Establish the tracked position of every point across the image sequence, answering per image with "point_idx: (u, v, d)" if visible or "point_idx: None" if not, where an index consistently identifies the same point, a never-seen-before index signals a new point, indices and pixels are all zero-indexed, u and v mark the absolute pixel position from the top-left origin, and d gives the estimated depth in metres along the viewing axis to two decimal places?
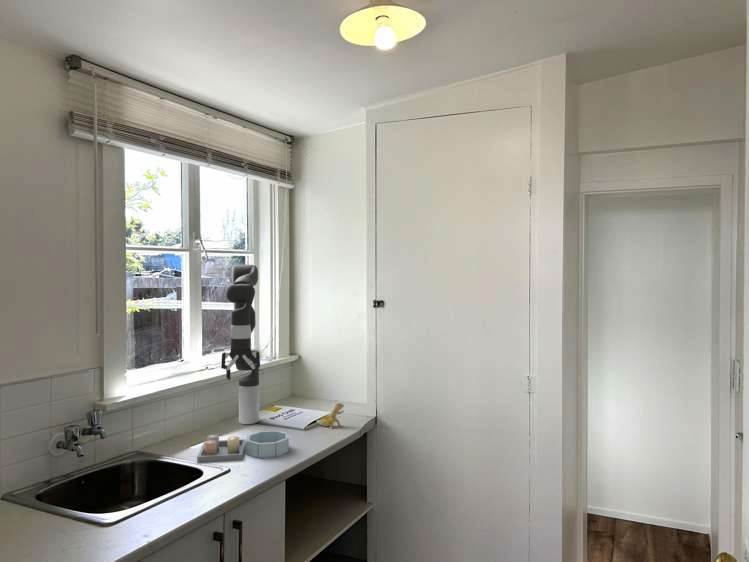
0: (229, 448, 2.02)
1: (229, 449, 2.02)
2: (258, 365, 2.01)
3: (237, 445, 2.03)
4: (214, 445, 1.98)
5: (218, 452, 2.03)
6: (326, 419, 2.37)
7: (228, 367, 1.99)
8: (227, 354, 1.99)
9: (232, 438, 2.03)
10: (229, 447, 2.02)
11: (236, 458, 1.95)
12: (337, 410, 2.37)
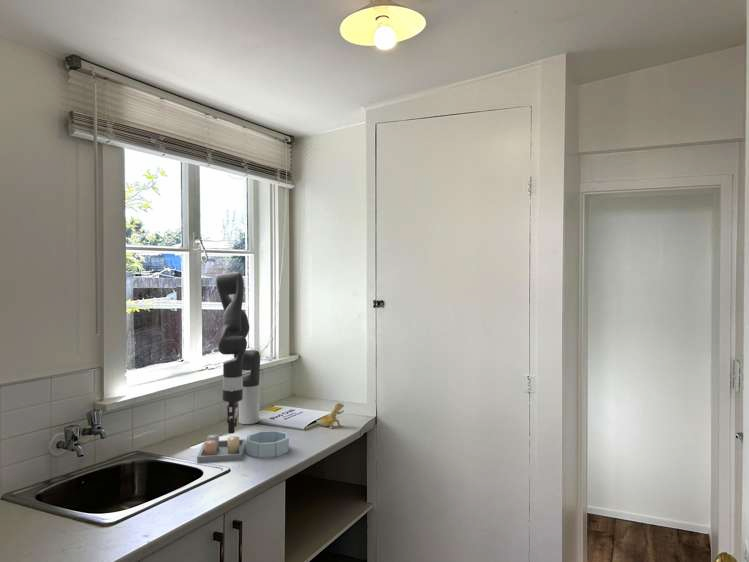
0: (229, 448, 2.02)
1: (229, 449, 2.02)
2: None
3: (237, 445, 2.03)
4: (214, 445, 1.98)
5: (218, 452, 2.03)
6: (326, 419, 2.37)
7: (234, 420, 1.99)
8: None
9: (232, 438, 2.03)
10: (229, 447, 2.02)
11: (236, 458, 1.95)
12: (337, 410, 2.37)
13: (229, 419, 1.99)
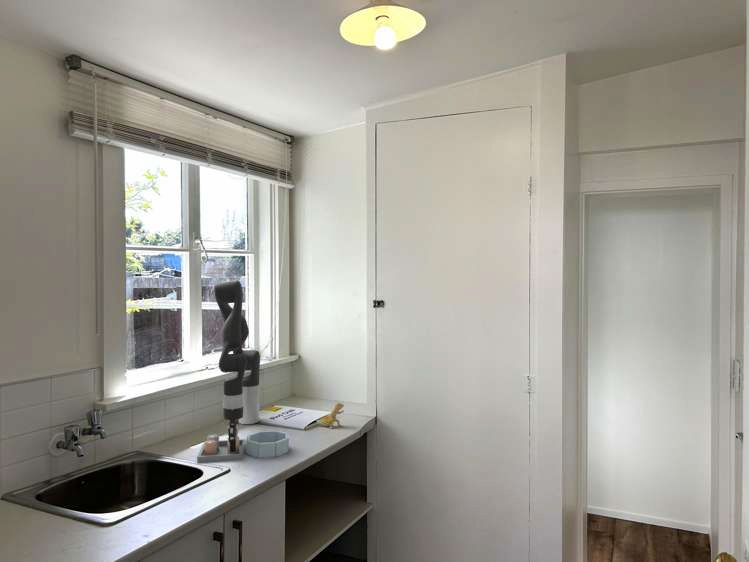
0: (229, 448, 2.02)
1: (229, 449, 2.02)
2: None
3: (237, 445, 2.03)
4: (214, 445, 1.98)
5: (218, 452, 2.03)
6: (326, 419, 2.37)
7: None
8: (233, 427, 1.99)
9: (232, 438, 2.03)
10: (229, 447, 2.02)
11: (236, 458, 1.95)
12: (337, 410, 2.37)
13: (230, 438, 2.01)
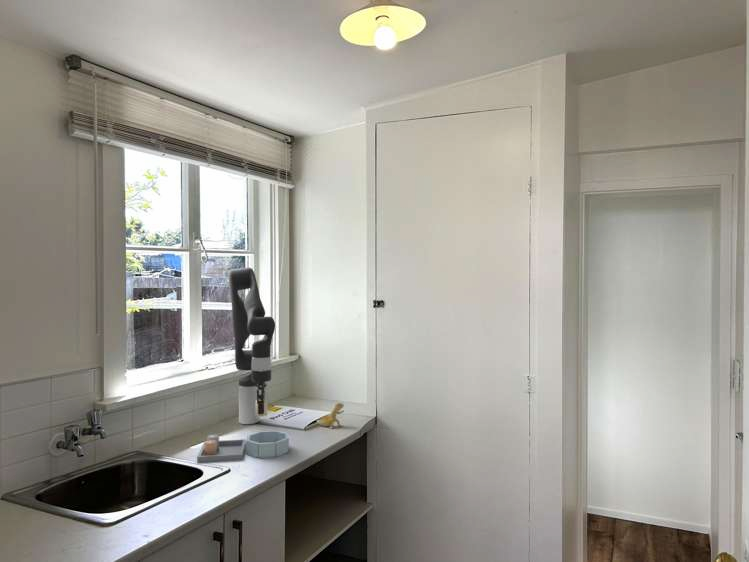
0: (257, 410, 2.03)
1: (257, 411, 2.03)
2: None
3: (265, 407, 2.04)
4: (214, 445, 1.98)
5: (218, 452, 2.03)
6: (326, 419, 2.37)
7: None
8: (261, 389, 2.00)
9: None
10: (257, 409, 2.03)
11: (236, 458, 1.95)
12: (337, 410, 2.37)
13: None
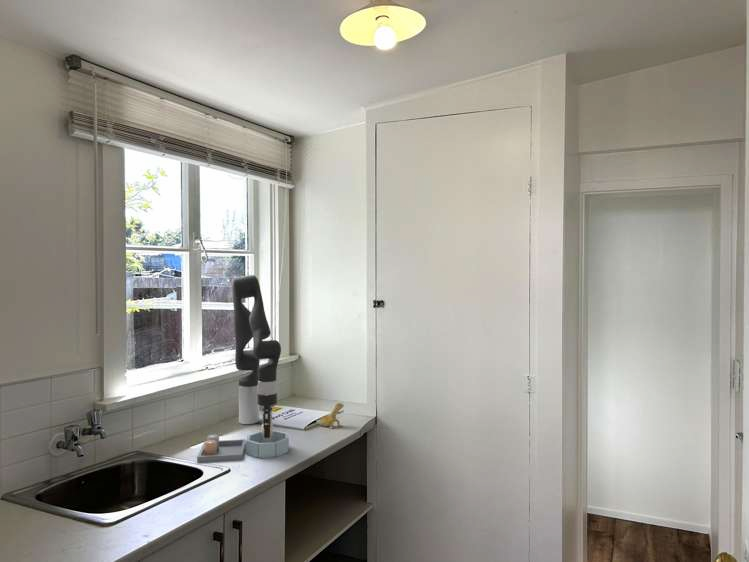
0: (263, 434, 2.04)
1: (263, 435, 2.04)
2: None
3: (271, 431, 2.05)
4: (214, 445, 1.98)
5: (218, 452, 2.03)
6: (326, 419, 2.38)
7: None
8: (268, 413, 2.01)
9: (266, 424, 2.05)
10: (263, 433, 2.04)
11: (236, 458, 1.95)
12: (337, 410, 2.37)
13: None
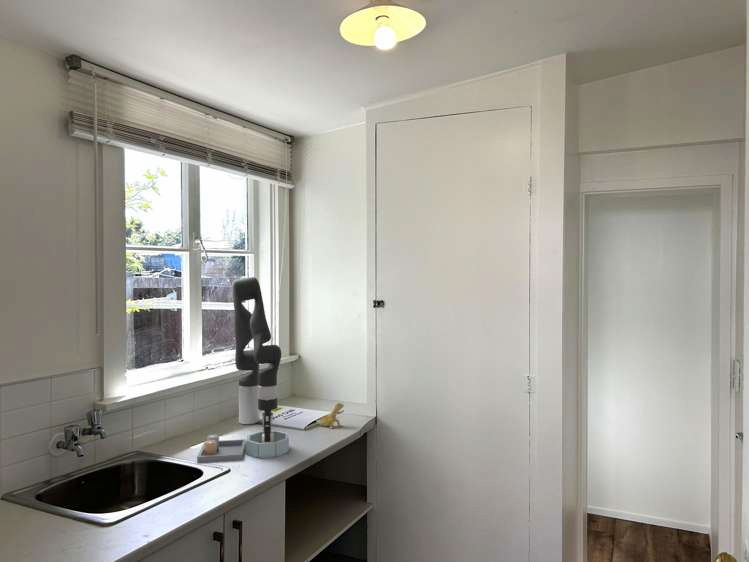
0: None
1: None
2: None
3: (272, 441, 2.05)
4: (214, 445, 1.98)
5: (218, 452, 2.03)
6: (326, 419, 2.38)
7: (270, 428, 2.02)
8: None
9: None
10: None
11: (236, 458, 1.95)
12: (337, 410, 2.37)
13: None
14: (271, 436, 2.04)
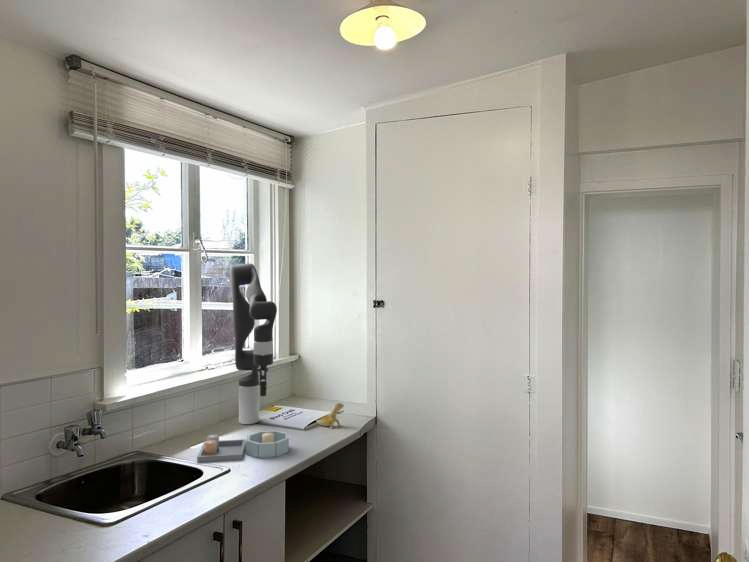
0: None
1: None
2: None
3: (272, 441, 2.05)
4: (214, 445, 1.98)
5: (218, 452, 2.03)
6: (326, 419, 2.38)
7: None
8: None
9: (267, 434, 2.05)
10: None
11: (236, 458, 1.95)
12: (337, 410, 2.37)
13: None
14: (271, 436, 2.04)
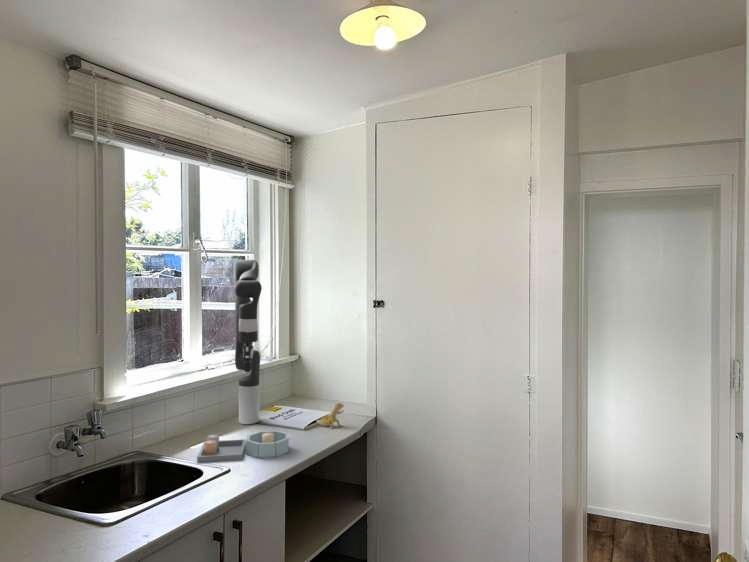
0: None
1: None
2: (252, 354, 2.20)
3: (272, 441, 2.05)
4: (214, 445, 1.98)
5: (218, 452, 2.03)
6: (326, 419, 2.38)
7: (250, 359, 2.10)
8: None
9: (267, 434, 2.05)
10: None
11: (236, 458, 1.95)
12: (337, 410, 2.37)
13: (245, 359, 2.10)
14: (271, 436, 2.04)
